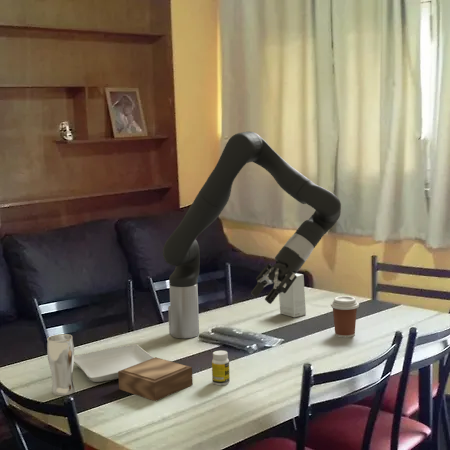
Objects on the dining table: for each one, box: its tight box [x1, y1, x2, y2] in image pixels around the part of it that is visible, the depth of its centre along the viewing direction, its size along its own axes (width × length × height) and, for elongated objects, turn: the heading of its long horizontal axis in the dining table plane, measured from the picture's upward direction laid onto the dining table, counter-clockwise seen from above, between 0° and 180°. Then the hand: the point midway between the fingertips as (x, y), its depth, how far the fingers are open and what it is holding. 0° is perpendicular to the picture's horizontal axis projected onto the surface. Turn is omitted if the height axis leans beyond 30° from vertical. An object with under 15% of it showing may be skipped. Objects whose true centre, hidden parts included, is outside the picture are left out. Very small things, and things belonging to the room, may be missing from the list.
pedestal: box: [118, 357, 194, 402], centre depth 198 cm, size 14×14×5 cm
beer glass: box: [46, 333, 76, 397], centre depth 196 cm, size 7×7×15 cm
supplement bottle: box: [211, 350, 231, 386], centre depth 200 cm, size 5×5×8 cm
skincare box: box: [278, 272, 307, 318], centre depth 264 cm, size 8×6×15 cm
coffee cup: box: [330, 295, 360, 338], centre depth 238 cm, size 9×9×12 cm
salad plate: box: [74, 343, 155, 383], centre depth 213 cm, size 21×21×3 cm
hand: (260, 298), depth 205 cm, fingers open, 8 cm apart
